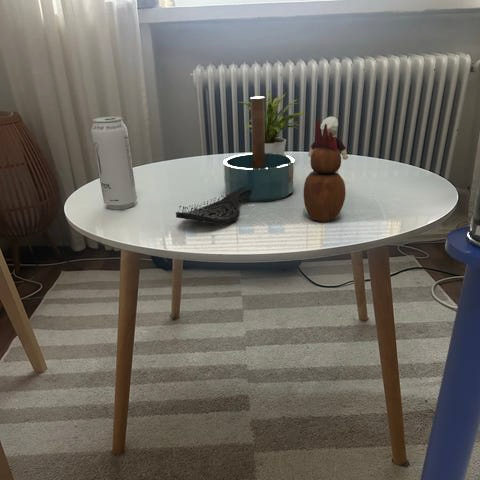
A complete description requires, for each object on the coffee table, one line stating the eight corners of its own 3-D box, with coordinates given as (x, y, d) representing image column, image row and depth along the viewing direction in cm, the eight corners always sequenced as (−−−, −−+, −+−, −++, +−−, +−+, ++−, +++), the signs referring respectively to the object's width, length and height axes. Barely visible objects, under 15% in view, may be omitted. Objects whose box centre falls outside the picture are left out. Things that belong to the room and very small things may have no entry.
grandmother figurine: (345, 182, 99) (350, 114, 93) (345, 187, 96) (351, 118, 90) (307, 181, 101) (309, 115, 94) (306, 186, 97) (308, 118, 91)
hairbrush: (281, 179, 92) (206, 210, 73) (281, 198, 93) (208, 234, 74) (243, 175, 95) (162, 204, 76) (243, 194, 97) (164, 227, 78)
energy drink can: (102, 203, 93) (87, 118, 85) (134, 198, 94) (122, 115, 87) (107, 212, 88) (91, 122, 80) (140, 207, 89) (128, 119, 82)
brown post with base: (275, 184, 97) (274, 96, 89) (263, 191, 94) (262, 99, 86) (254, 182, 99) (252, 95, 91) (243, 188, 96) (239, 98, 88)
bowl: (303, 187, 97) (304, 155, 94) (275, 206, 87) (275, 171, 84) (245, 180, 103) (244, 151, 100) (212, 198, 93) (210, 165, 90)
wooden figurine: (297, 215, 83) (299, 119, 75) (327, 210, 85) (332, 116, 77) (317, 227, 77) (322, 126, 70) (348, 221, 79) (357, 122, 72)
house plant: (258, 182, 101) (257, 96, 93) (223, 170, 112) (219, 91, 103) (312, 171, 108) (315, 89, 100) (274, 160, 118) (274, 85, 110)
